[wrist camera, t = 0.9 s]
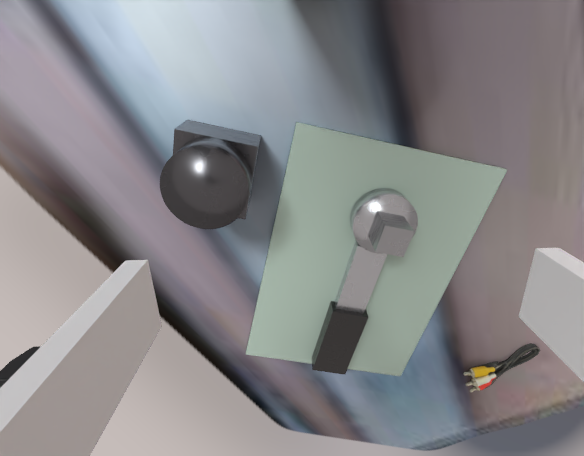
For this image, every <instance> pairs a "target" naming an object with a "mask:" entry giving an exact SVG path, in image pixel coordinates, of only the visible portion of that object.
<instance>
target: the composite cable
mask: <svg viewBox="0 0 584 456" xmlns="http://www.w3.org/2000/svg"><path fill="white" fill-rule="evenodd" d="M529 351H531V352H530V353H529V354H527V355H525V356H523V355H524V354H525V353H528V352H529ZM539 351H540V349H539V348H538V347H537V346H536V345H535V344H527V345H525V346H523V347H521V348H520V349H519V350H517V351H516V352H515V353H514V354H513V355H512V356H511V357H510V358H509V359H507V360H505V361H502V362H492V363H488V364H485V365H481V366H478V367H474V368H471V369H470V370H469V372H464V373H463V374H464V376H466V375H468V376H472V379H471V381H470V382H467V383H466V386H470V385H473V386H474V387H473V388H471V389H470V392H473V391H475V390H477V391H480V390H483V389H484V388H487V387H489V386H490V385H492V384H493V383H494V382H495V380H496V379H497V378H498V377H499V376H500V375H502V374H503V373H504V372H506V371H507V370H509V369H511V368H513V367H515V366H517V365H520V364H522V363H524V362H527V361H529V360H530V359H532V358H534V357H535V356H536V355H538V353H539ZM521 356H523V357H521Z"/></svg>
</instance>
